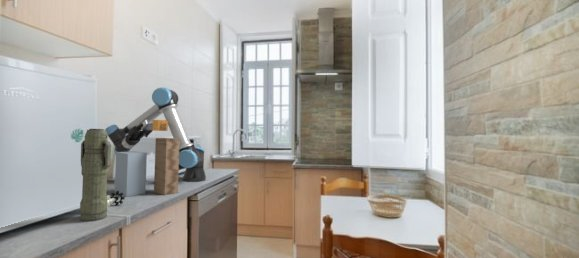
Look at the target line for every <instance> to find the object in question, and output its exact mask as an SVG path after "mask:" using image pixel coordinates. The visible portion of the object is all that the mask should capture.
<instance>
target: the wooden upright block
mask: <svg viewBox="0 0 579 258" xmlns="http://www.w3.org/2000/svg"><path fill="white" fill-rule="evenodd" d="M179 142H180V139H175V138H173V137H156V138H155V146H154V147H155V148H154V151H155V153H154V179H153V182H154V183H153V184H154V185H153V193H154V194H159V195H161V196H162V195H163V196H167V195H174V194H177V193H179V173H180V172H179V168H180V165H179Z"/></svg>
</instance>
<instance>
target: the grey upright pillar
mask: <svg viewBox="0 0 579 258" xmlns="http://www.w3.org/2000/svg"><path fill="white" fill-rule="evenodd" d="M147 158H148V157H147V152H142V151H133V150H132V151H131V150H130V151H129V152H116V153H115V172H114V173H115V174H114V175H115V178H114V179H115V180H114V193H115V194H116V191H119V194H120V193H123V195H122V197H125V198H127V197H132V196H137V195H144V194H146V187H147V186H146V184H147V183H146V181H147Z"/></svg>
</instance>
